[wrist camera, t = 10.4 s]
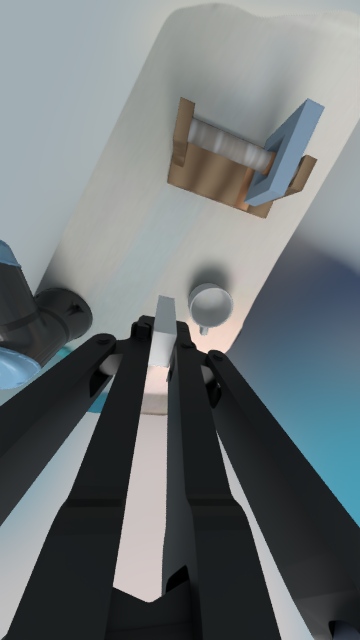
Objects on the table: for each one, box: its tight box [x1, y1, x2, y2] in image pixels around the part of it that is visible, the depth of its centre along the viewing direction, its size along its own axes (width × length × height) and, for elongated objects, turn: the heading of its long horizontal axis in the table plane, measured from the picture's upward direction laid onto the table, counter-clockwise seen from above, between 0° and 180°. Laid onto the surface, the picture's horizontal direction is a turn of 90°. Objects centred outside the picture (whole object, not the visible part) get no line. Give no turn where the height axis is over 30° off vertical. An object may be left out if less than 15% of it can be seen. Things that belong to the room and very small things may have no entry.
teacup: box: [188, 283, 233, 336], centre depth 43 cm, size 14×11×8 cm
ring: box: [244, 99, 325, 206], centre depth 26 cm, size 2×9×10 cm, turn 164°
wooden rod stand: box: [167, 97, 317, 218], centre depth 29 cm, size 23×10×10 cm, turn 74°
